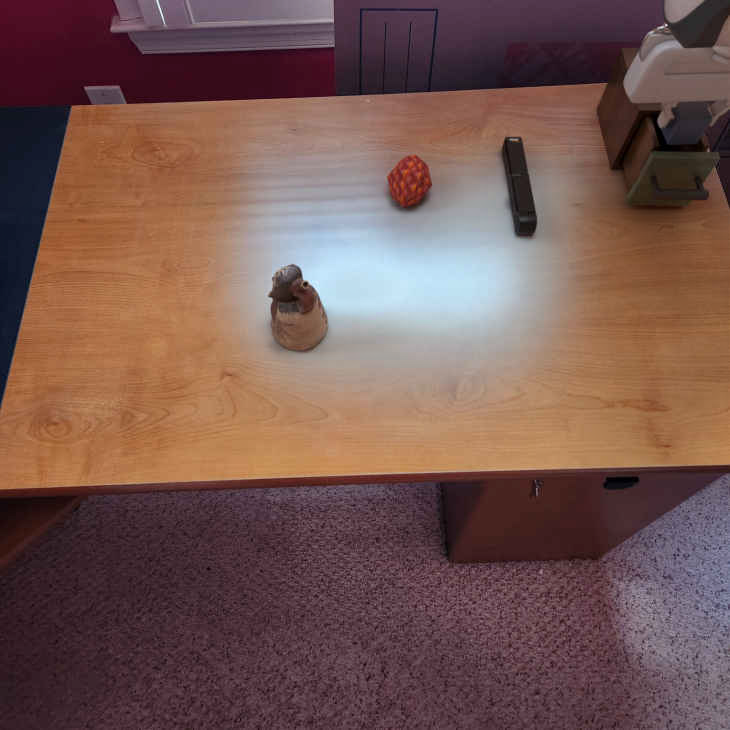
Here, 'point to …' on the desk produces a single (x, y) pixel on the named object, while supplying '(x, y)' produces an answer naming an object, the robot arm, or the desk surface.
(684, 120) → the block
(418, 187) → the decorative stone
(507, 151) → the black stapler
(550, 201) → the desk surface
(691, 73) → the robot arm
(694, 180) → the drawer
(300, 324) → the figurine
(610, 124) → the cabinet
